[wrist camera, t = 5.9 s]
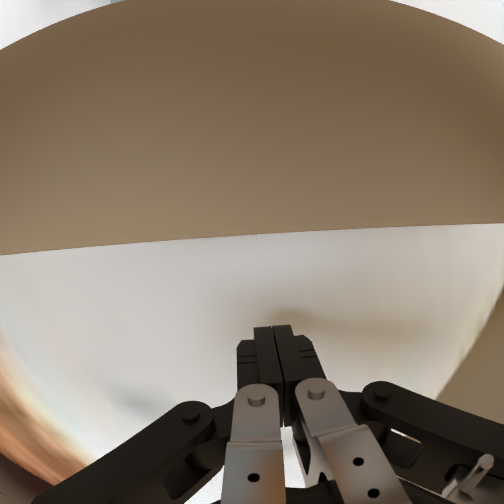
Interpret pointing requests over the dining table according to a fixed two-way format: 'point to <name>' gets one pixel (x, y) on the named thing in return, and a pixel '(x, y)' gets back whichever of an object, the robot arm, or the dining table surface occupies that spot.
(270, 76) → the tan arch
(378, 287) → the dining table surface
